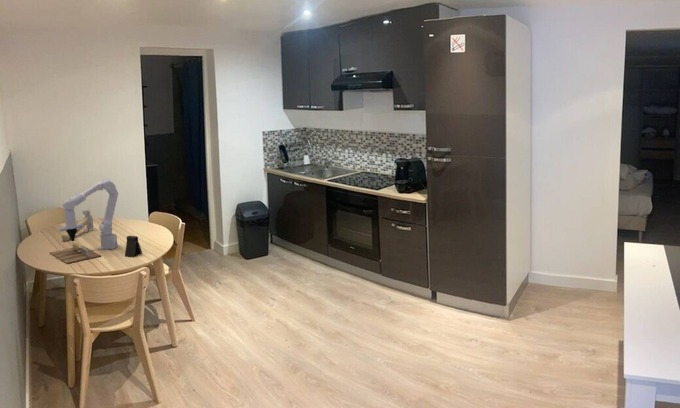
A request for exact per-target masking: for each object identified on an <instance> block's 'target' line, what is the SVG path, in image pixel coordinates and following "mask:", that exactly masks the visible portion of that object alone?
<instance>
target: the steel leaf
mask: <svg viewBox="0 0 680 408" xmlns="http://www.w3.org/2000/svg"><path fill="white" fill-rule="evenodd" d="M78 253H79V254H82V255H84V256H86V257H89V255H88V250H87V249H85V248H83V247H80V250H78Z"/></svg>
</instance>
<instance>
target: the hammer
mask: <svg viewBox="0 0 680 408" xmlns="http://www.w3.org/2000/svg"><path fill="white" fill-rule="evenodd" d="M82 215H84V217H83V218H82V220H81V221H79V222H78V223H76V225H79V224H84V227H85V226H86V229H85V231H86V232H92V231H93V230H94V220H93V216H92V214H91V210H90V208H84V209H83V210H82ZM82 229H83V228H77V232H76V234H78V233H79V232H80V231H81V230H82ZM60 237H61V239H62V241H64V242H68V241H69V240H71V239H70V236H69V235H68V233H67V232H66V231H65V233H63V234H61V236H60Z"/></svg>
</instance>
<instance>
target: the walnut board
mask: <svg viewBox="0 0 680 408" xmlns="http://www.w3.org/2000/svg"><path fill="white" fill-rule="evenodd" d="M81 246H82V247H83V248H85V249H87V250H88V255H89V257H86V256H84V255H82V254H79V253H78V251H76V250H74V249H73V247H70V248H66V249H65V248H64V249H61V250H55V251H49V254H50V255H51V256H52V257H54V256H55V257H54V258H56V259H57V260H59V261H61V262H62V261H63V262H62V263H64V264H65V265H70V264H74V263H79V262H83V261H88V260H92V259H97V258H102V255H101V254H99V253H97V252H95V251H94V250H91V249H89V248H88V247H86V246H84V245H81Z"/></svg>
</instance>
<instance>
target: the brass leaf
mask: <svg viewBox="0 0 680 408" xmlns="http://www.w3.org/2000/svg"><path fill="white" fill-rule="evenodd" d="M71 244H72V245H71V246H72V248H73V249H74V250H76V251H78V250H80V247H82V246H83V245H80V244H78V243H76V242H75V241H71Z"/></svg>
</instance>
